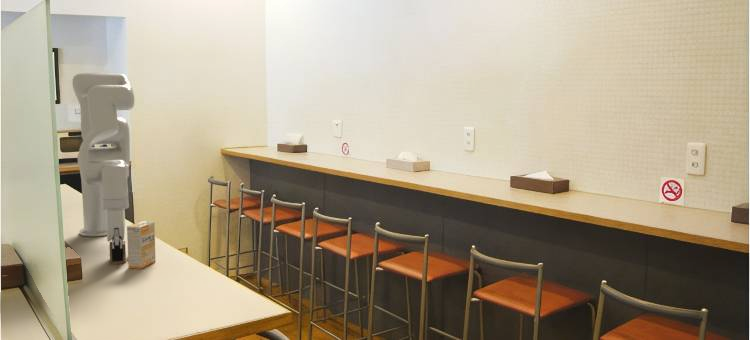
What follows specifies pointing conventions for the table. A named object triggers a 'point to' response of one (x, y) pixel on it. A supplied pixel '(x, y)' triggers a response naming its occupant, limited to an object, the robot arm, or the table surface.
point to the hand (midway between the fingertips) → (117, 256)
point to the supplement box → (141, 244)
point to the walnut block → (123, 254)
